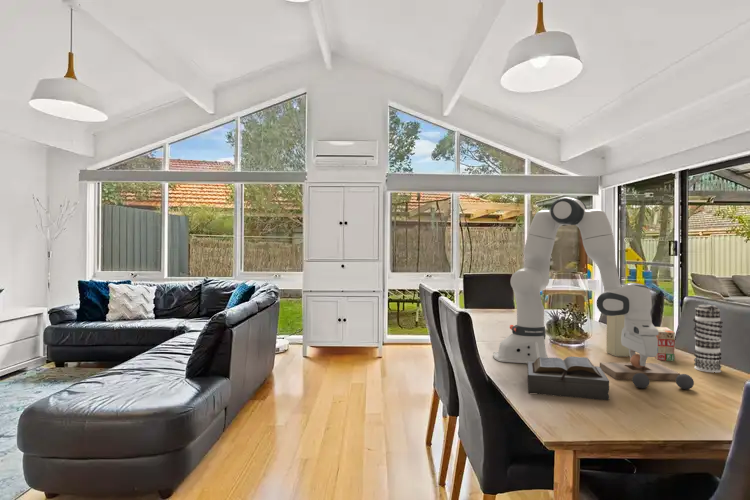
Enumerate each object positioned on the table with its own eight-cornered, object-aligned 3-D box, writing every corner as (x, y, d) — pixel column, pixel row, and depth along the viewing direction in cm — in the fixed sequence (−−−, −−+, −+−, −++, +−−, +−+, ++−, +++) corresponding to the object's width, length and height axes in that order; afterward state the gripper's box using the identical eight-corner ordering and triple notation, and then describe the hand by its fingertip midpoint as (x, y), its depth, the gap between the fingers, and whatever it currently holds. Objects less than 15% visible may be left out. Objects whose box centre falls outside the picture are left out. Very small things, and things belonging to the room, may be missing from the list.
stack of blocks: (646, 349, 209) (646, 323, 209) (662, 350, 207) (662, 323, 207) (657, 360, 189) (657, 331, 189) (674, 361, 187) (674, 332, 187)
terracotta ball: (634, 369, 166) (634, 355, 166) (627, 365, 171) (627, 352, 171) (648, 369, 165) (648, 356, 165) (641, 366, 170) (641, 352, 170)
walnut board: (615, 379, 162) (615, 372, 162) (599, 368, 176) (599, 362, 176) (679, 380, 160) (679, 373, 160) (658, 369, 174) (658, 363, 174)
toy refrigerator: (632, 356, 195) (632, 308, 195) (615, 356, 195) (615, 308, 195) (622, 352, 203) (622, 306, 203) (606, 352, 203) (606, 306, 203)
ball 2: (681, 391, 148) (681, 376, 148) (672, 386, 153) (672, 371, 153) (697, 391, 148) (697, 376, 148) (688, 386, 153) (688, 372, 153)
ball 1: (636, 390, 149) (636, 375, 149) (629, 385, 154) (629, 371, 154) (652, 390, 149) (652, 375, 149) (644, 385, 154) (644, 371, 154)
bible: (608, 406, 135) (608, 374, 135) (516, 392, 148) (516, 363, 148) (611, 385, 156) (611, 357, 155) (529, 375, 169) (529, 349, 169)
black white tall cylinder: (713, 374, 168) (713, 307, 168) (687, 367, 177) (687, 304, 176) (728, 371, 172) (728, 306, 172) (702, 365, 180) (702, 303, 180)
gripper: (616, 321, 179) (616, 356, 179) (642, 331, 158) (642, 370, 158) (633, 321, 178) (633, 356, 178) (661, 331, 158) (661, 370, 158)
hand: (637, 363), depth 168 cm, fingers closed on terracotta ball, 5 cm apart
